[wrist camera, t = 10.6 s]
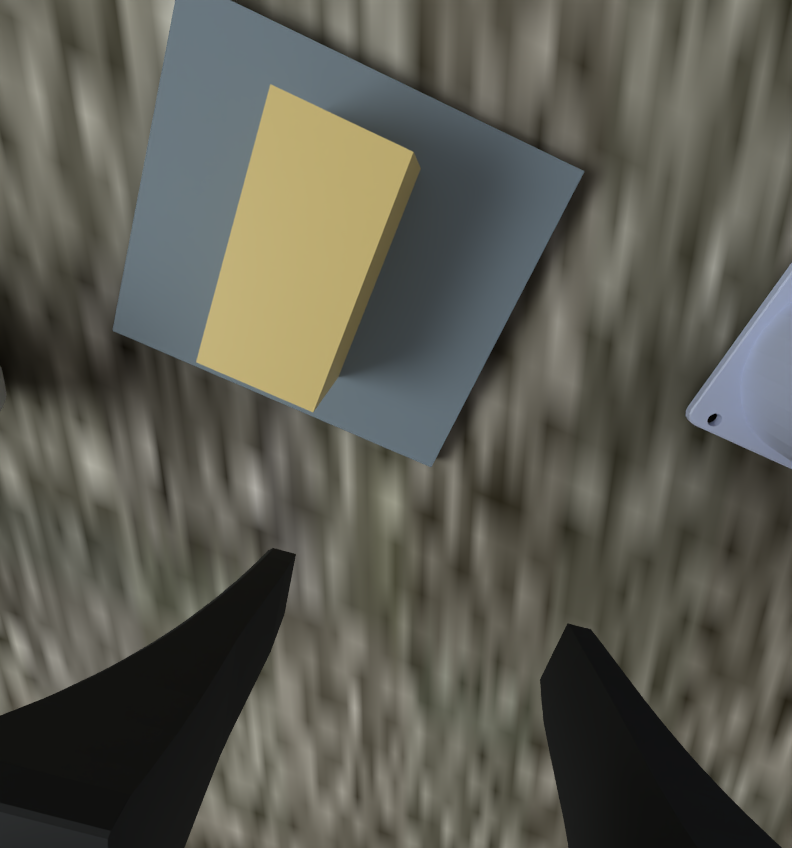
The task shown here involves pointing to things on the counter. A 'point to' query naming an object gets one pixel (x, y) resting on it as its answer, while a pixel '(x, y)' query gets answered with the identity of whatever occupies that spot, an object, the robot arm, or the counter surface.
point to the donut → (2, 389)
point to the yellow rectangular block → (304, 249)
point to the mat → (411, 246)
